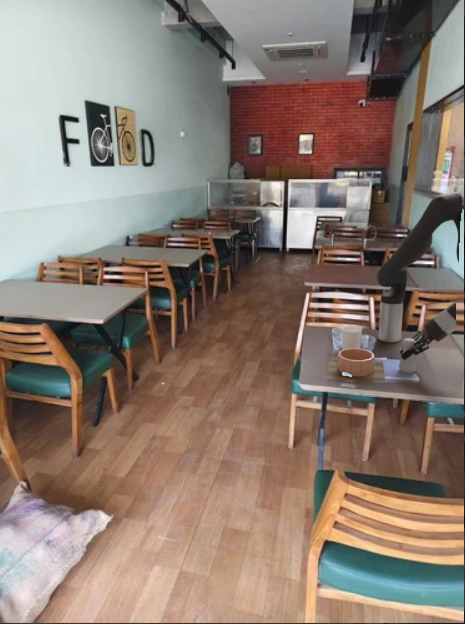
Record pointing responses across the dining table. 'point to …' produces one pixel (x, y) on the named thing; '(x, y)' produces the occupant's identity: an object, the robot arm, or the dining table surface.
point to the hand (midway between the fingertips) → (402, 355)
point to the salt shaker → (409, 363)
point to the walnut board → (374, 377)
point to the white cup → (351, 337)
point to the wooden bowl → (356, 362)
